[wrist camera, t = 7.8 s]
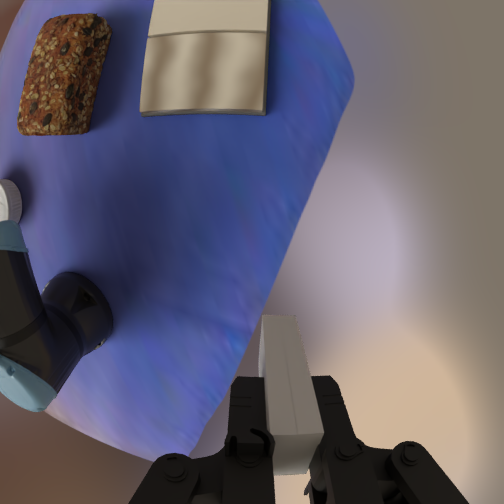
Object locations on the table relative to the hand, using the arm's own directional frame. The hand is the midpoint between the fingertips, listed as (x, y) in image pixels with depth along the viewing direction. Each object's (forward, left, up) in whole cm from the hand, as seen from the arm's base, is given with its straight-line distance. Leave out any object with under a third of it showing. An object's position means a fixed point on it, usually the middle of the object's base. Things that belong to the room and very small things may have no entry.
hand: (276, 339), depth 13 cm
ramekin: (-47, +2, -29) cm, 55 cm away
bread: (-30, +22, -29) cm, 47 cm away
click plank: (-8, +20, -27) cm, 35 cm away
